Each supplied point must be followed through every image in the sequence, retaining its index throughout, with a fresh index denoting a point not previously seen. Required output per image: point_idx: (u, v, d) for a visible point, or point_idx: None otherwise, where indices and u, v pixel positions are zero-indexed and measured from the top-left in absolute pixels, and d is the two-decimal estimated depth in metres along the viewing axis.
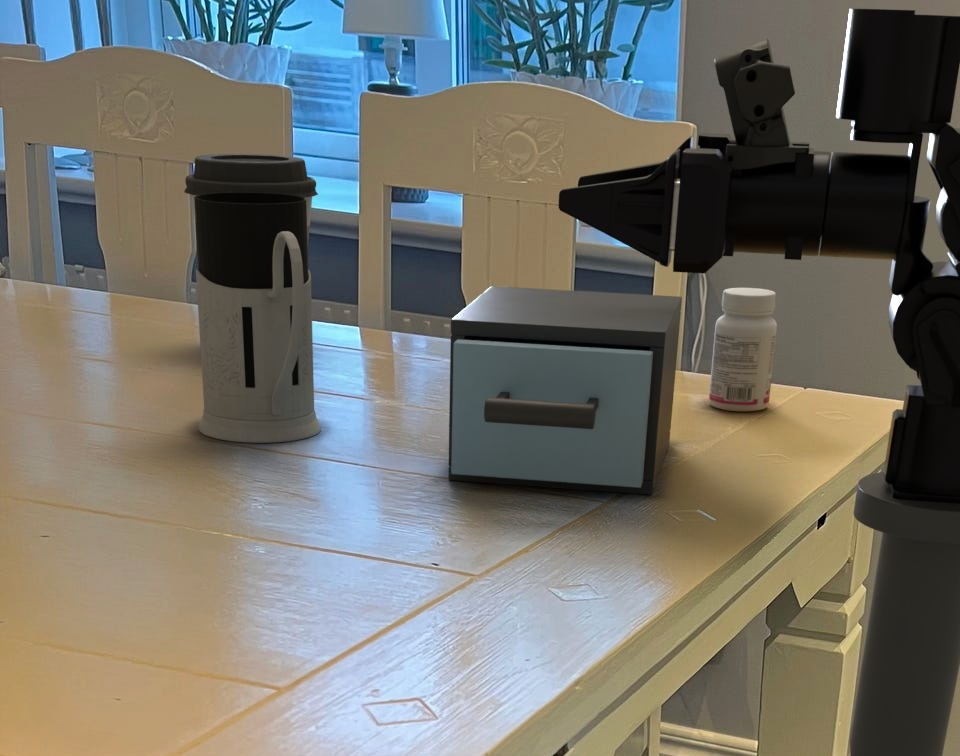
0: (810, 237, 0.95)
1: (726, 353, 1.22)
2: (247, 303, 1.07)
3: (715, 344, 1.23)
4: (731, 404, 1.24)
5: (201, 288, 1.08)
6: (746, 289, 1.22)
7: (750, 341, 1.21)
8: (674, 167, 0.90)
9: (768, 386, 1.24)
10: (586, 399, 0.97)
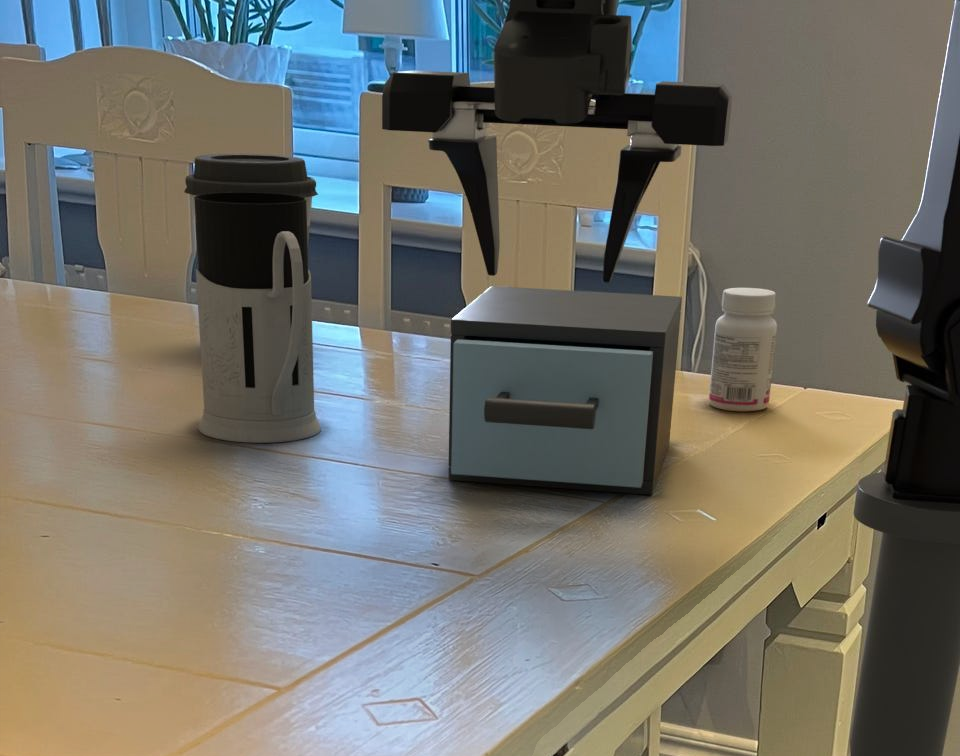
0: None
1: (726, 353, 1.22)
2: (247, 303, 1.07)
3: (715, 344, 1.23)
4: (731, 404, 1.24)
5: (201, 288, 1.08)
6: (746, 289, 1.22)
7: (750, 341, 1.21)
8: (674, 152, 0.86)
9: (768, 386, 1.24)
10: (586, 399, 0.97)
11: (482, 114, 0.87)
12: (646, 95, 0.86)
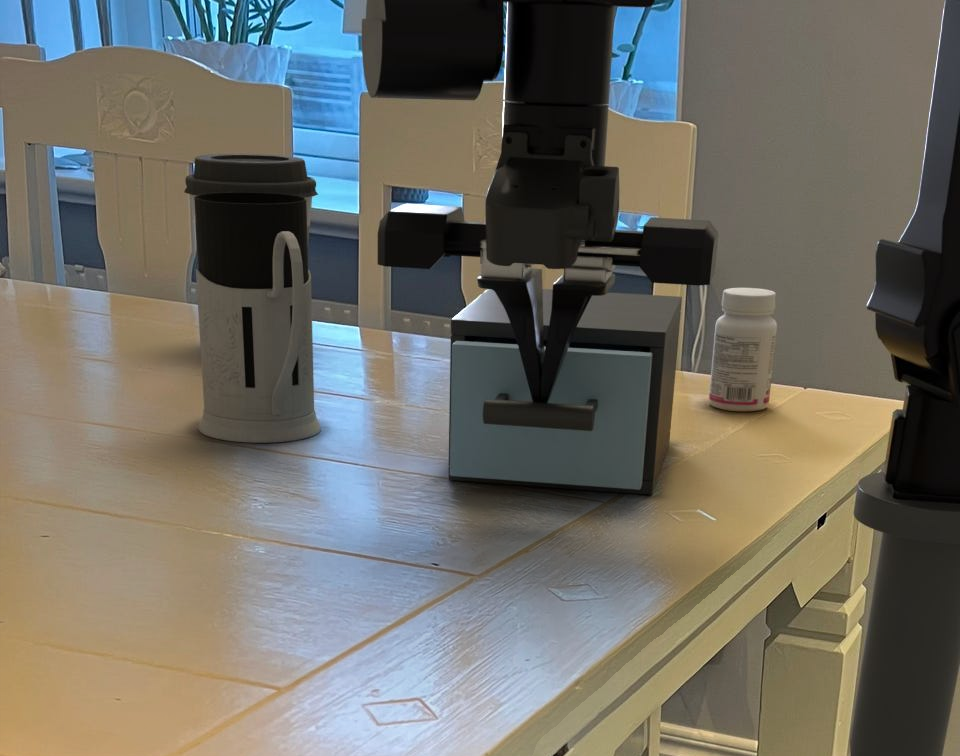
0: None
1: (726, 353, 1.22)
2: (247, 303, 1.07)
3: (715, 344, 1.23)
4: (731, 404, 1.24)
5: (201, 288, 1.08)
6: (746, 289, 1.22)
7: (750, 341, 1.21)
8: (605, 286, 0.88)
9: (768, 386, 1.24)
10: (585, 401, 0.97)
11: None
12: (634, 233, 0.88)
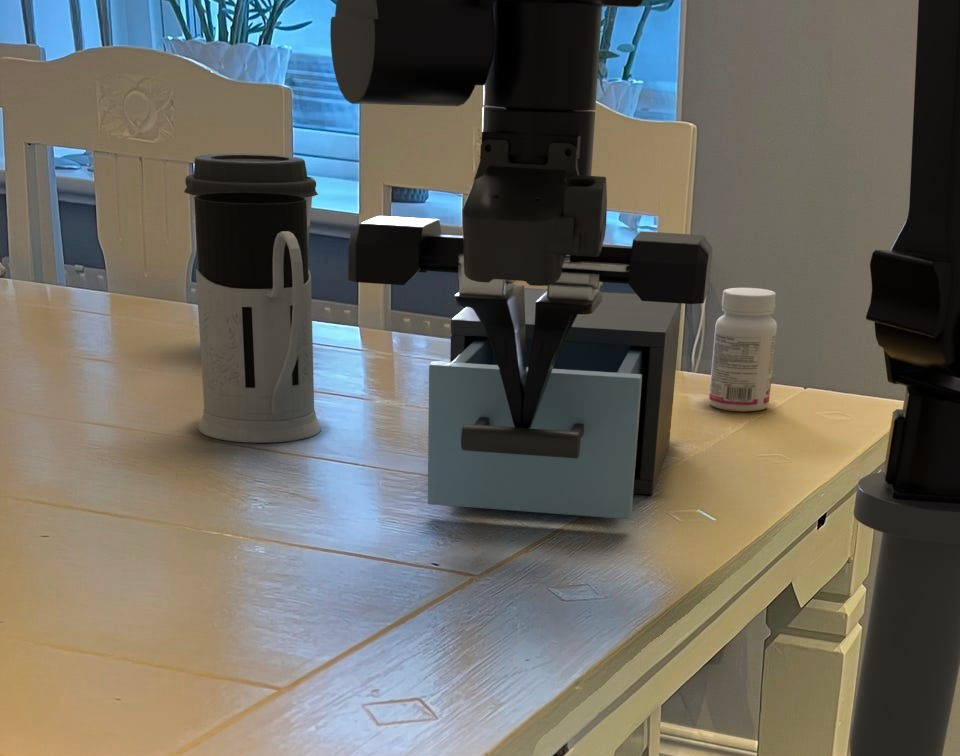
0: None
1: (726, 353, 1.22)
2: (247, 303, 1.07)
3: (715, 344, 1.23)
4: (731, 404, 1.24)
5: (201, 288, 1.08)
6: (746, 289, 1.22)
7: (750, 341, 1.21)
8: None
9: (768, 386, 1.24)
10: (571, 425, 0.91)
11: None
12: (623, 248, 0.83)
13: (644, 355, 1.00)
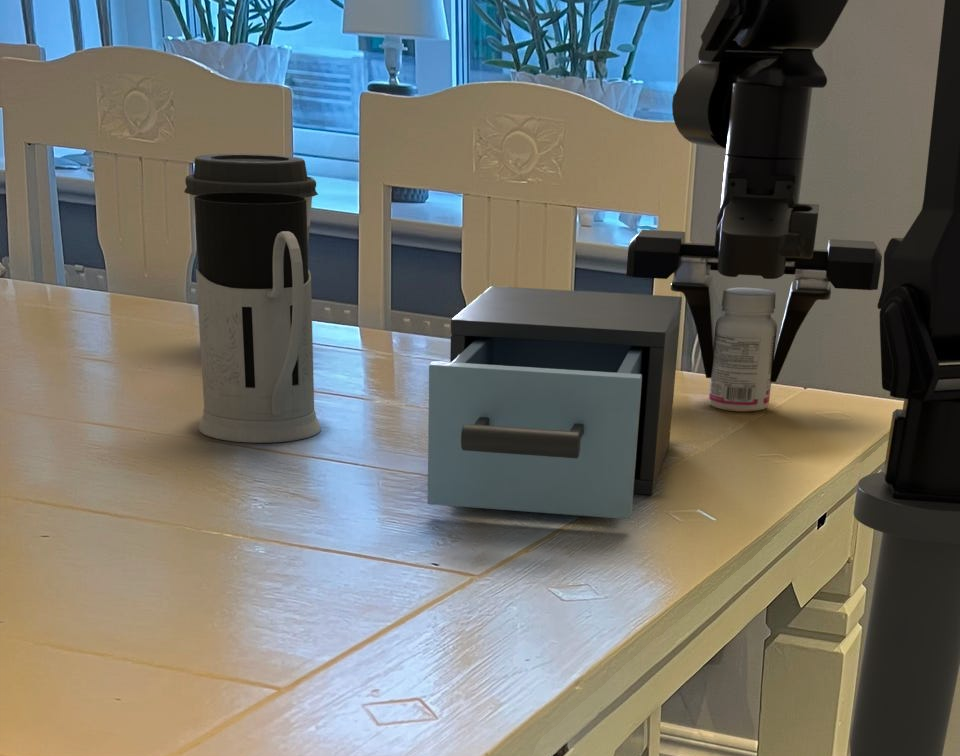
0: None
1: (726, 353, 1.22)
2: (247, 303, 1.07)
3: (715, 344, 1.23)
4: (731, 404, 1.24)
5: (201, 288, 1.08)
6: (746, 289, 1.22)
7: (750, 341, 1.21)
8: (830, 292, 1.19)
9: (768, 386, 1.24)
10: (571, 425, 0.91)
11: (709, 265, 1.20)
12: (819, 251, 1.19)
13: (644, 355, 1.00)
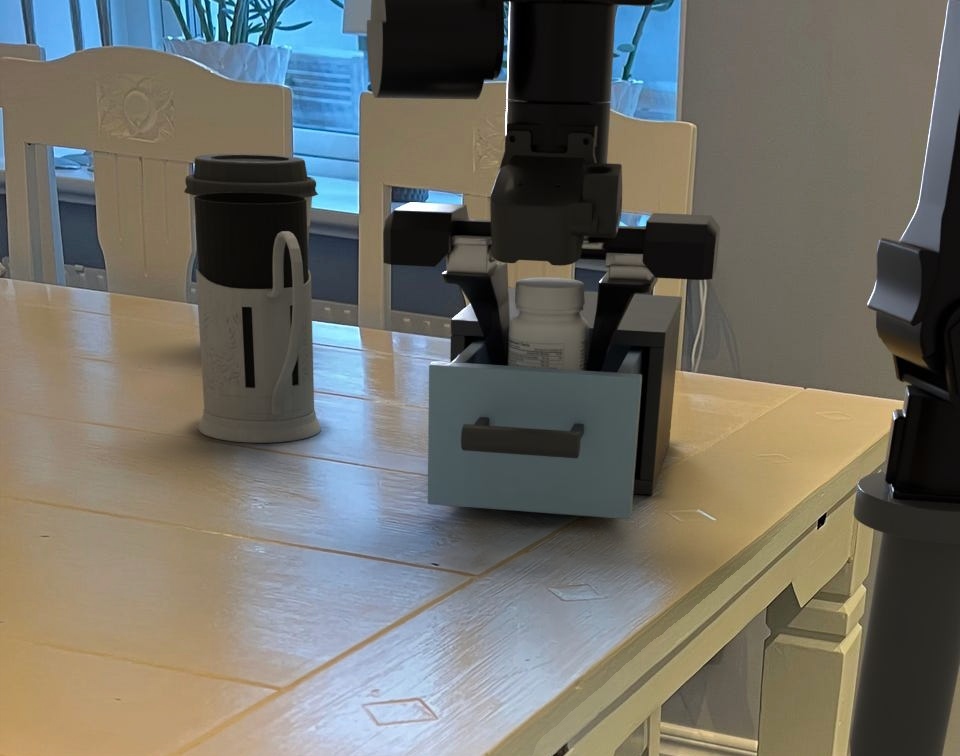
0: None
1: (521, 364, 0.93)
2: (247, 303, 1.07)
3: (509, 352, 0.94)
4: None
5: (201, 288, 1.08)
6: (547, 279, 0.93)
7: (551, 348, 0.92)
8: (650, 284, 0.89)
9: None
10: (571, 425, 0.91)
11: None
12: (637, 229, 0.89)
13: (644, 355, 1.00)
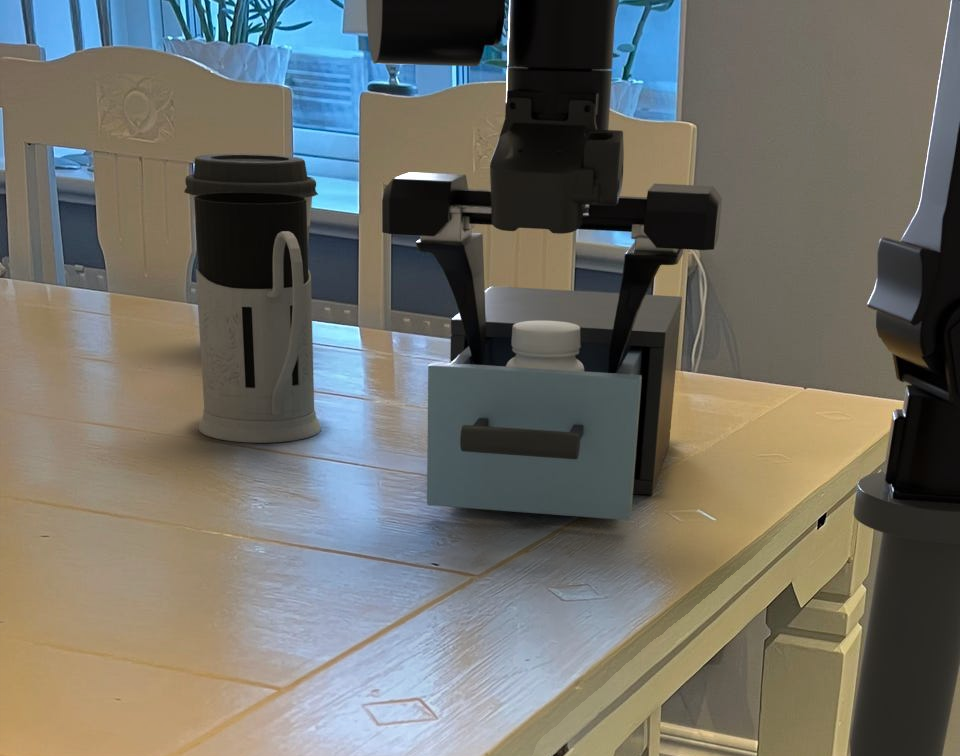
0: None
1: None
2: (247, 303, 1.07)
3: None
4: None
5: (201, 288, 1.08)
6: (544, 323, 0.94)
7: None
8: None
9: None
10: (570, 426, 0.91)
11: (468, 216, 0.90)
12: (638, 199, 0.89)
13: (644, 356, 1.00)
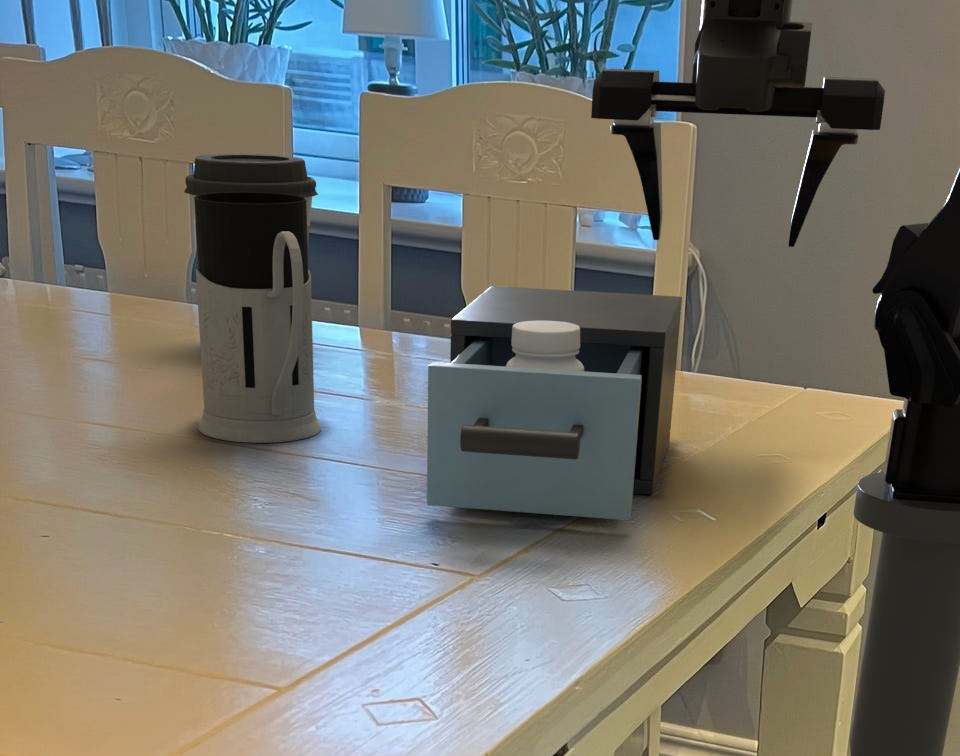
0: None
1: None
2: (247, 303, 1.07)
3: None
4: None
5: (201, 288, 1.08)
6: (543, 323, 0.94)
7: None
8: (857, 136, 1.03)
9: None
10: (570, 426, 0.91)
11: (655, 104, 1.05)
12: (813, 88, 1.03)
13: (644, 356, 1.00)
